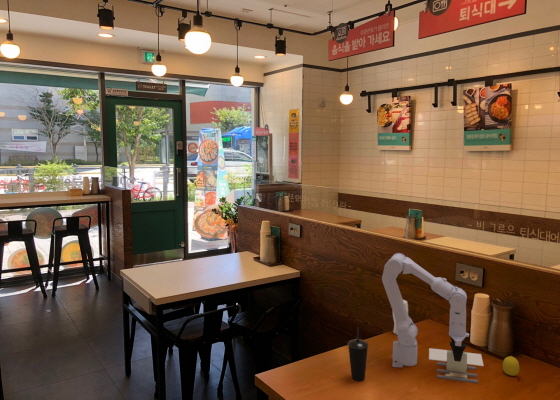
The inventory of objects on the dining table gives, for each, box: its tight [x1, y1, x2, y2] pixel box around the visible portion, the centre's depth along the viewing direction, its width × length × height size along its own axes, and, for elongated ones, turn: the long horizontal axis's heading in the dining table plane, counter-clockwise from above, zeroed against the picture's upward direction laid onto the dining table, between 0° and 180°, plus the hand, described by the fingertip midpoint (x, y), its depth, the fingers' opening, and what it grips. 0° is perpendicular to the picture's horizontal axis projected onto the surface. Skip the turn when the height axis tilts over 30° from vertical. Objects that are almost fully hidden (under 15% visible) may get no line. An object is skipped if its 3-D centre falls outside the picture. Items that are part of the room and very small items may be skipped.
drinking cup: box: [347, 326, 369, 382], centre depth 169 cm, size 8×8×20 cm
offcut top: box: [450, 372, 469, 379], centre depth 167 cm, size 6×2×1 cm, turn 71°
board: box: [428, 348, 484, 367], centre depth 183 cm, size 20×10×2 cm, turn 71°
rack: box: [436, 361, 479, 384], centre depth 170 cm, size 14×12×2 cm
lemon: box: [502, 355, 520, 377], centre depth 169 cm, size 6×6×8 cm
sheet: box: [446, 349, 468, 373], centre depth 172 cm, size 7×2×8 cm, turn 71°
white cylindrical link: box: [392, 299, 409, 336], centre depth 209 cm, size 7×7×15 cm
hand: (457, 356), depth 171 cm, fingers open, 7 cm apart
